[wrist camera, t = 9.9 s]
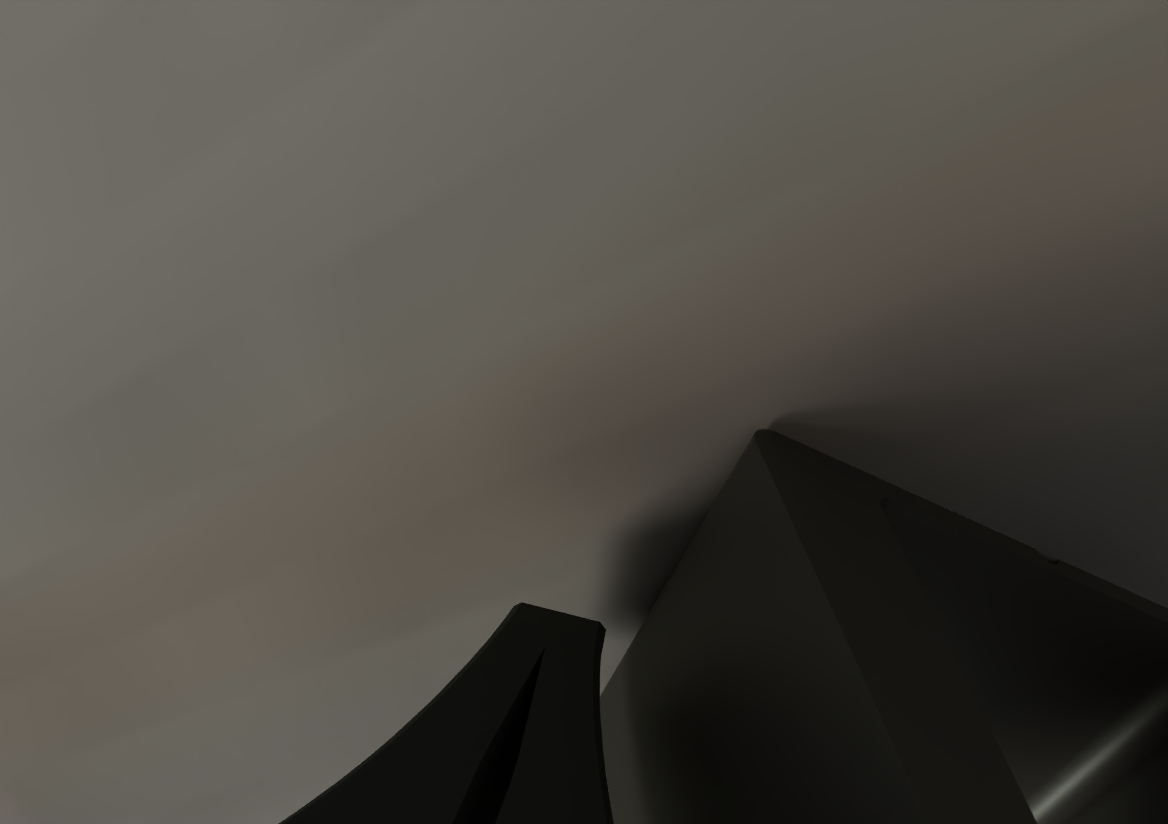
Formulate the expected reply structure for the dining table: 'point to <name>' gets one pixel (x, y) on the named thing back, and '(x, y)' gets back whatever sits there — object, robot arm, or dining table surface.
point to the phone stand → (881, 669)
